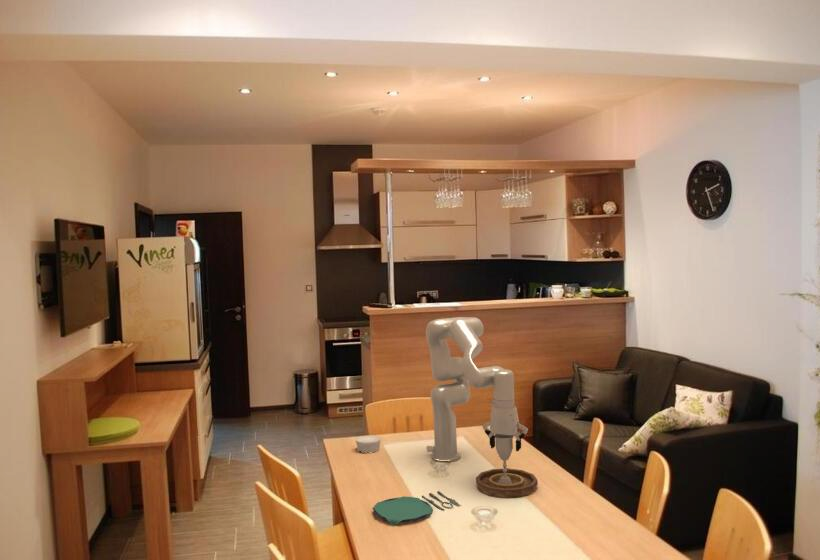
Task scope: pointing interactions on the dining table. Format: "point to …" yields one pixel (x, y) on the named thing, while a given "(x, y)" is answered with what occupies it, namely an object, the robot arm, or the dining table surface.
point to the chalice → (504, 454)
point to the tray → (506, 492)
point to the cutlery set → (407, 508)
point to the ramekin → (368, 443)
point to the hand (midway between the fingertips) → (505, 448)
